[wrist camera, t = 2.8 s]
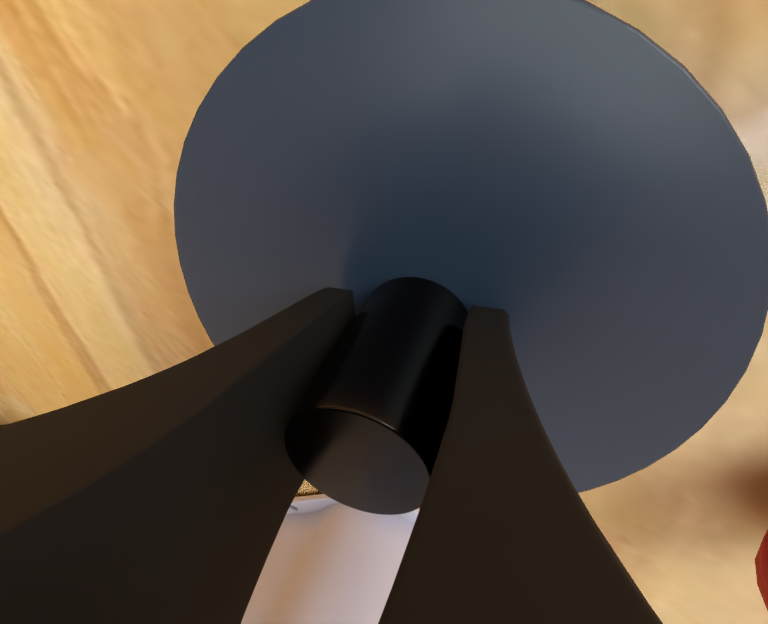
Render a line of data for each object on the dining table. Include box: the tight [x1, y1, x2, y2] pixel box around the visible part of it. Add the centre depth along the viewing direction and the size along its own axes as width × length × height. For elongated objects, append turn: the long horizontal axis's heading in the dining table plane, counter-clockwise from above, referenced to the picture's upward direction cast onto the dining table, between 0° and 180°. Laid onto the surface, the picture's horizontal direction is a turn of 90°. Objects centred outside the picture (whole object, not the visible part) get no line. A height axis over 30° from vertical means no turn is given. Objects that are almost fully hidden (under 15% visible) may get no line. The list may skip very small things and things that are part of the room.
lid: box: [174, 0, 768, 515], centre depth 8 cm, size 12×12×5 cm
